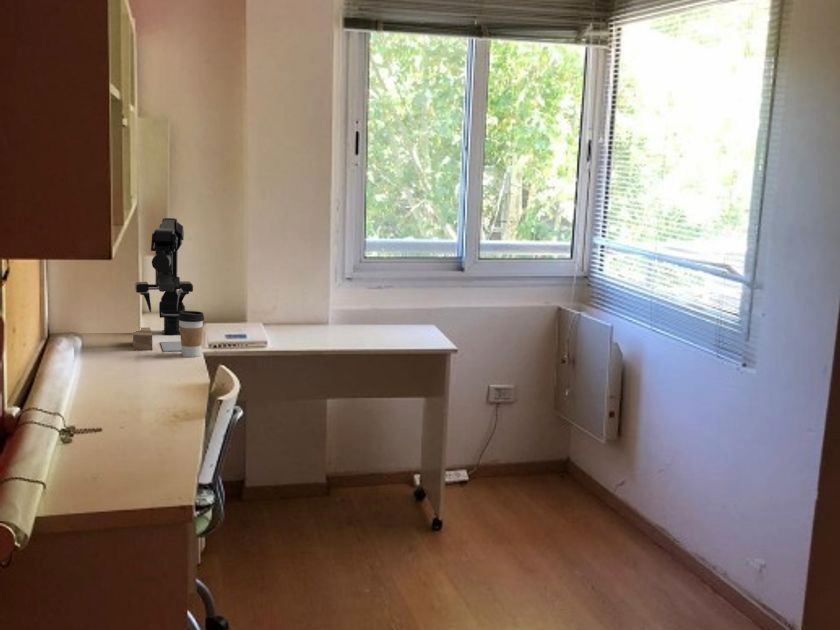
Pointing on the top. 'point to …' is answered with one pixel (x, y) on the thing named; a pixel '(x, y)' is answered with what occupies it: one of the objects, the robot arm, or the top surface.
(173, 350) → the felt mat
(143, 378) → the top surface
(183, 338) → the coffee cup
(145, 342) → the walnut cover
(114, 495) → the top surface
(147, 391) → the top surface
